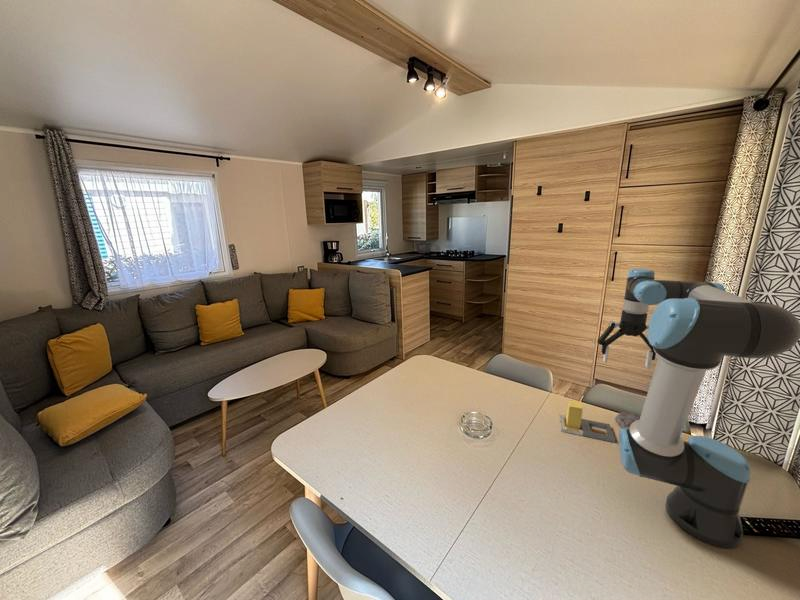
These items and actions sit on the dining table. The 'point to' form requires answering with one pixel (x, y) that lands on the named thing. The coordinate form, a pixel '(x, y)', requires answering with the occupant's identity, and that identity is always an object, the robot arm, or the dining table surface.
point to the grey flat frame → (588, 429)
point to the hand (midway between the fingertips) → (625, 364)
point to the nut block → (574, 414)
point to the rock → (626, 419)
